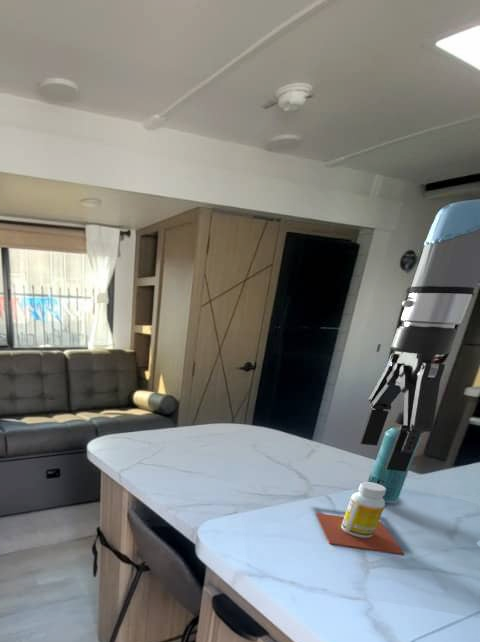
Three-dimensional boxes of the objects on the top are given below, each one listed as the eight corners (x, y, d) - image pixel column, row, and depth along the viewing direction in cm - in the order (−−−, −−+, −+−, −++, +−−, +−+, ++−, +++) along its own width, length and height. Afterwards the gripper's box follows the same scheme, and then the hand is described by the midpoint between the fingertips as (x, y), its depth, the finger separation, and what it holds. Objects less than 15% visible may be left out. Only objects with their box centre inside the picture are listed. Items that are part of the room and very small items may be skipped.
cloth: (380, 522, 82) (380, 521, 81) (404, 555, 71) (404, 553, 71) (315, 514, 84) (316, 512, 84) (329, 544, 74) (329, 542, 74)
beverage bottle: (401, 503, 90) (436, 415, 81) (387, 511, 86) (423, 419, 77) (369, 492, 94) (400, 407, 86) (355, 499, 91) (386, 411, 82)
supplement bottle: (334, 526, 79) (349, 481, 75) (355, 523, 81) (370, 478, 76) (358, 540, 74) (375, 493, 70) (379, 536, 76) (397, 490, 72)
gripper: (373, 321, 74) (339, 433, 83) (437, 328, 52) (381, 479, 61) (420, 323, 72) (380, 437, 81) (507, 331, 50) (438, 486, 59)
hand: (380, 456), depth 71 cm, fingers open, 13 cm apart
